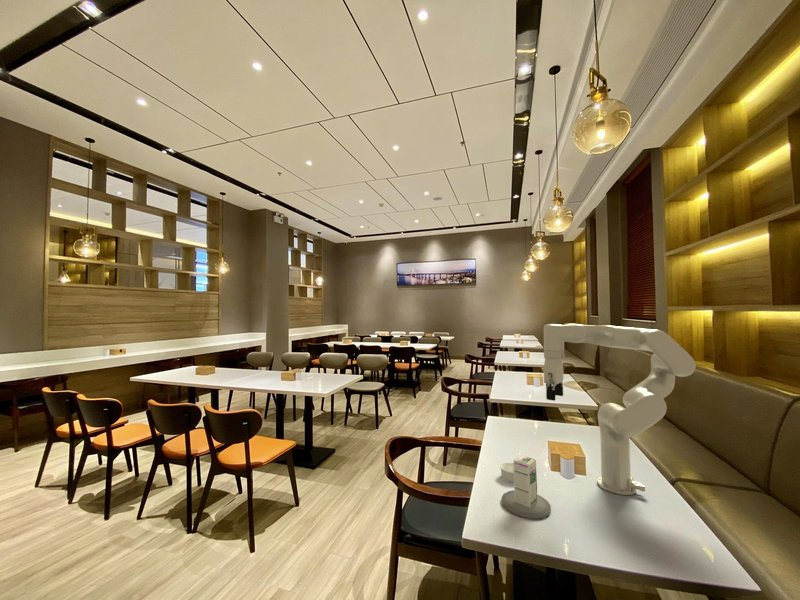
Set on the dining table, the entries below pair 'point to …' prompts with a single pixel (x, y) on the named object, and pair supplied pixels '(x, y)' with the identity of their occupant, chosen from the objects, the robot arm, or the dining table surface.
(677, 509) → the dining table surface
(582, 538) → the dining table surface
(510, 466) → the ramekin
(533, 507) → the grey plate
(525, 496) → the syrup box
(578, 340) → the robot arm
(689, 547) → the dining table surface
